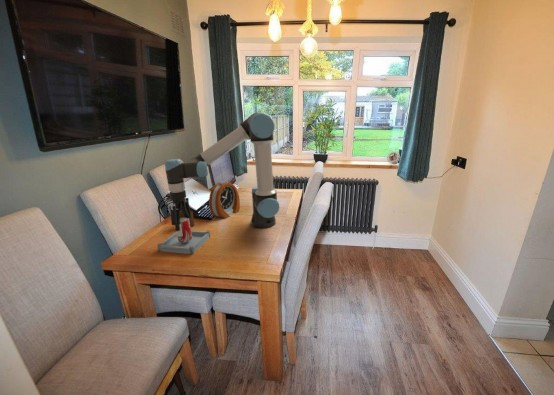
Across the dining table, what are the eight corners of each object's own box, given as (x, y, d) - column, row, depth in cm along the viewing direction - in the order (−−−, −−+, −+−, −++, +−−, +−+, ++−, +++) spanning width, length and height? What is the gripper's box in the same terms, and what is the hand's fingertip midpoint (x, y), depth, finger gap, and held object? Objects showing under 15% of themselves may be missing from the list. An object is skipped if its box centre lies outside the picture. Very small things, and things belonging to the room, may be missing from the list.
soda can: (192, 242, 136) (188, 221, 133) (178, 244, 135) (174, 223, 131) (192, 236, 143) (189, 216, 139) (178, 238, 141) (175, 218, 137)
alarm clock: (221, 220, 168) (218, 186, 160) (210, 218, 172) (206, 185, 165) (242, 209, 186) (240, 178, 179) (231, 207, 190) (229, 177, 183)
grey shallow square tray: (210, 236, 146) (209, 230, 145) (192, 254, 128) (191, 247, 127) (179, 234, 150) (178, 228, 149) (158, 251, 133) (157, 244, 131)
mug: (179, 232, 153) (177, 217, 150) (172, 229, 157) (170, 214, 154) (197, 225, 162) (195, 211, 159) (189, 222, 166) (187, 208, 163)
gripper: (181, 185, 140) (187, 224, 147) (157, 196, 122) (166, 240, 129) (194, 185, 139) (200, 225, 146) (172, 197, 120) (179, 242, 127)
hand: (184, 232), depth 137 cm, fingers closed on soda can, 7 cm apart
